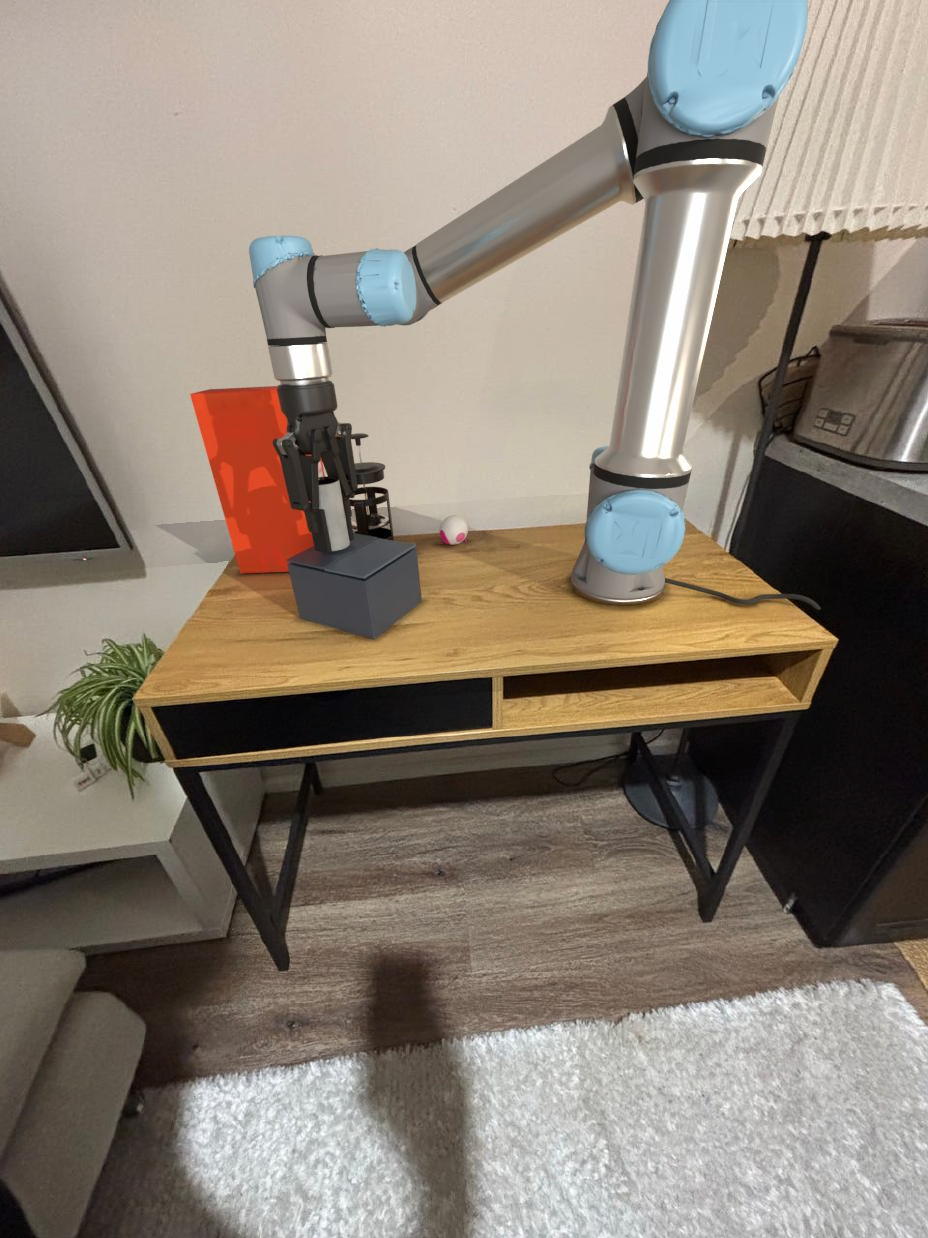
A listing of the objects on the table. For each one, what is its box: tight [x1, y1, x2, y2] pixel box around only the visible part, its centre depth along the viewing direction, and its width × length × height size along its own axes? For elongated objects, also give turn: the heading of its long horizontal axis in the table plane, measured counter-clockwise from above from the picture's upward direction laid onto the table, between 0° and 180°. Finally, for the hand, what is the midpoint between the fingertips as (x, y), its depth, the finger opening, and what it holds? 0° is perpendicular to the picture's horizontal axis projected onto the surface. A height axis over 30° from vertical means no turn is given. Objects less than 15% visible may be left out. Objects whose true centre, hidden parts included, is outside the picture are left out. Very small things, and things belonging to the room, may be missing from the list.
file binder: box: [190, 385, 326, 574], centre depth 94 cm, size 8×17×32 cm, turn 90°
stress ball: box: [437, 514, 469, 546], centre depth 107 cm, size 8×8×7 cm
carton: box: [287, 533, 423, 640], centre depth 82 cm, size 15×13×10 cm
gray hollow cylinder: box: [318, 475, 350, 551], centre depth 78 cm, size 4×4×10 cm
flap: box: [324, 538, 417, 579], centre depth 78 cm, size 7×13×1 cm, turn 151°
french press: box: [348, 432, 395, 541], centre depth 100 cm, size 12×9×23 cm
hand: (335, 544), depth 80 cm, fingers closed on gray hollow cylinder, 5 cm apart
